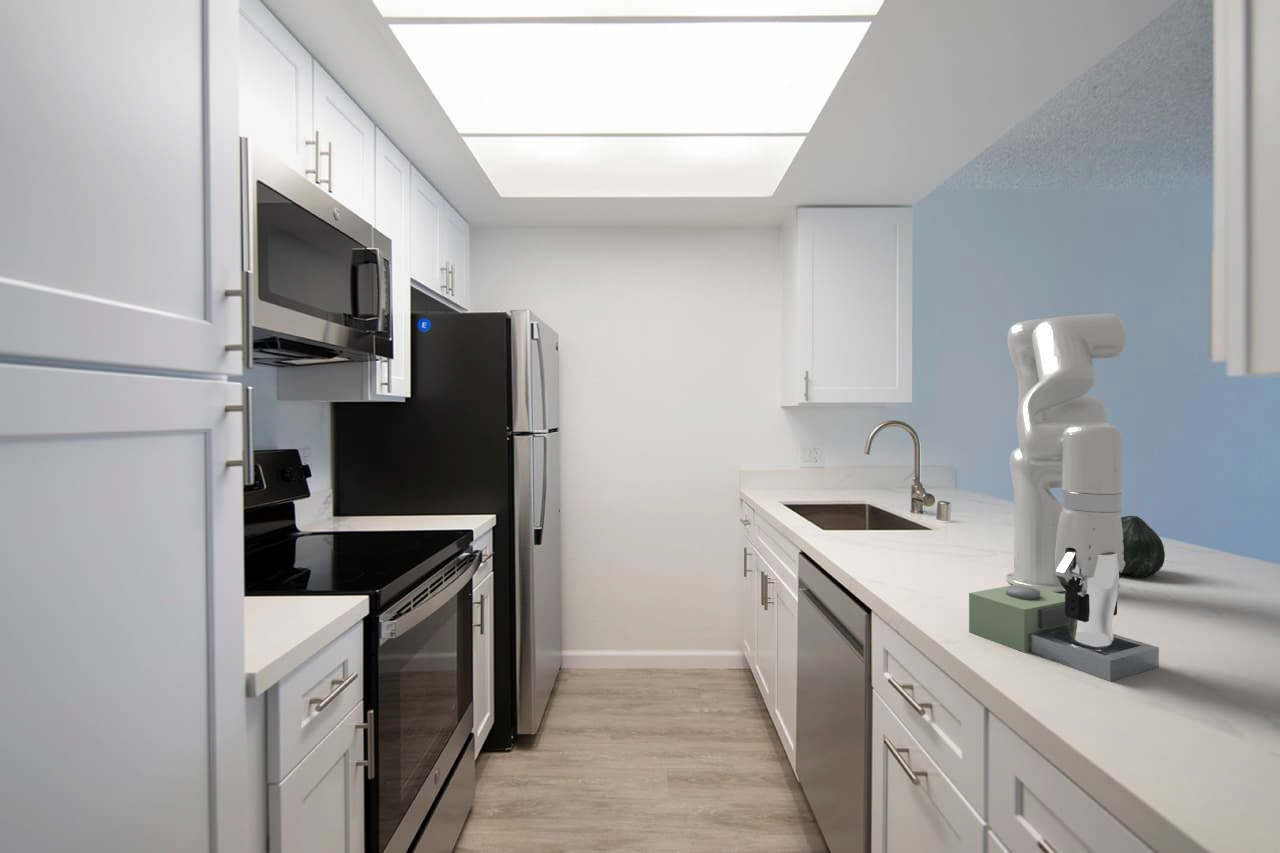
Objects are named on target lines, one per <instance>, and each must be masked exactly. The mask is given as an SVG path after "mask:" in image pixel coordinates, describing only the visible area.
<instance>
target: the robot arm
mask: <svg viewBox="0 0 1280 853" xmlns="http://www.w3.org/2000/svg"><path fill="white" fill-rule="evenodd" d="M1127 331H1128V330H1127V327H1126V325H1125V324H1124V321H1123V320H1122V319H1121V317H1119V316H1118V315H1116V314H1114V313H1095V314H1094V313H1093V314H1079V315H1078V314H1075V315H1065V316H1056V317H1048V318H1047V317H1046V318H1036V319H1027V320H1023V321H1020V322H1017V323H1014V324H1013V325H1012V326H1011V327H1010V328H1009V329H1008V331H1007V348H1008V353H1009V356H1010V358H1011V359H1010V360H1011V361H1012V363H1013V366H1014V369H1015V371H1016V374H1017V380H1018V387H1017V388H1018V389H1017V390H1018V394H1017V395H1018V396H1017V397H1018V398H1017V402H1018V403H1017V412H1016V413H1017V414H1016V429H1017V430H1016V431H1017V439H1018V447H1017V448H1015V449H1013V450H1012V452H1011V454H1010V455H1009V456H1010V457H1009V470H1010V475H1011V482H1012V490H1013V542H1014V543H1013V545H1014V546H1013V553H1014V554H1013V561H1014V562H1013V566H1014V567H1013V568H1014V569H1013V572H1010V573H1007V574H1006V575H1005V576H1006V577H1005V578H1006V579H1005V580H1006V581H1007V583H1009V584H1010V585H1017V584H1026V585H1029V586H1033V587H1037V588H1041V589H1045V590H1049V591H1052V592H1056V593H1061V592H1063V593H1064V595H1065V615H1066V617H1069V618H1072V619H1075V620H1079V621H1082V622H1088V621H1089V596H1085V595H1086V592H1087V588H1088V586H1087V578H1092V577H1094V573H1095V570H1096V565H1097V561H1098V555H1110V554H1114V552H1117V559H1118V568H1119V580H1120V579H1121V577H1122V574H1123V573H1121V572H1122V570H1123V569H1124V567H1125V561H1124V560H1123V559H1124V545H1123V531H1122V522H1121V517H1122V515H1123V448H1124V444H1123V432H1122V431H1121V429H1120V428H1119V427H1118V426H1115V425H1112V424H1110V423H1108V416H1107V409H1106V407H1105V405H1104V403H1103V402H1102V401H1101V400H1100V399H1099V398H1098V397H1095V396H1091V395H1090V396H1089V395H1086V394H1087V393H1089V392H1090V391H1091V390H1092V389H1093V388H1094V387H1095V384H1096V382H1097V381H1096V380H1097V375H1096V371H1095V368H1094V366H1095V365H1094V363H1093V360H1096V359H1115V358H1117V357H1120V355H1122V354H1123V353H1124V351H1125V349H1126V347H1127V343H1128V332H1127ZM1059 488H1060V489H1061V490H1062V492H1061V493H1062V502H1061V500H1060V499H1059V498H1058V497H1057V496H1056V495H1055V494H1053V492H1052V490H1051V489H1059ZM1076 563H1077V565H1078V567H1079V569H1081V573H1080V574H1081V575H1080V574H1076V573H1071V571H1072V569H1073V567H1074V566H1075V564H1076ZM1072 577H1075V578H1079V579H1081V581H1080V585H1078V583H1077V582H1076V581H1075V580H1073V579H1072ZM1116 615H1118V600H1117V601H1116V605H1115V610H1114V614H1113V617H1114V616H1116Z"/></svg>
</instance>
